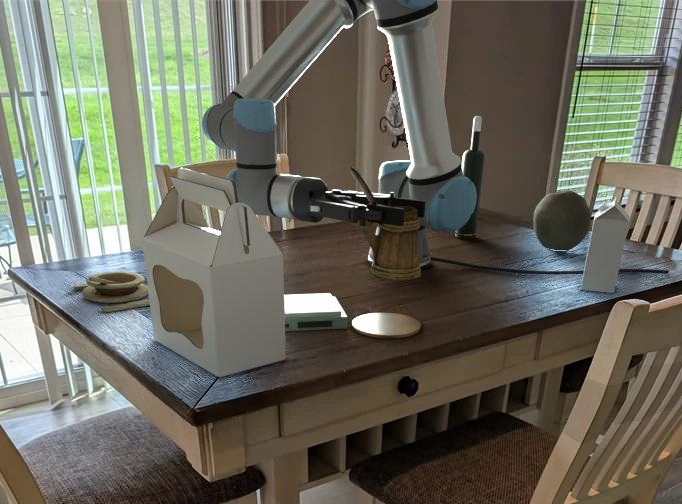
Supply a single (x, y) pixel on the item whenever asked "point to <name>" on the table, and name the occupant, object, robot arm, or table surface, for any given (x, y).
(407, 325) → the golden round disc
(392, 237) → the wooden mug
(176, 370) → the table surface
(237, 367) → the gable box
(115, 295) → the tableware set
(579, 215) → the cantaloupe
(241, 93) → the robot arm
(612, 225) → the milk carton
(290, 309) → the kitchen scale
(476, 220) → the wine bottle
